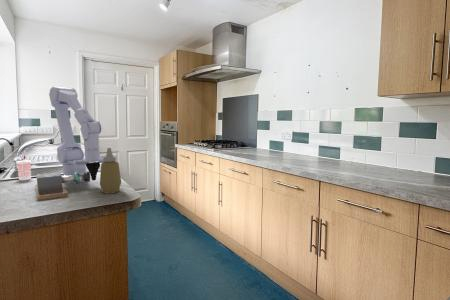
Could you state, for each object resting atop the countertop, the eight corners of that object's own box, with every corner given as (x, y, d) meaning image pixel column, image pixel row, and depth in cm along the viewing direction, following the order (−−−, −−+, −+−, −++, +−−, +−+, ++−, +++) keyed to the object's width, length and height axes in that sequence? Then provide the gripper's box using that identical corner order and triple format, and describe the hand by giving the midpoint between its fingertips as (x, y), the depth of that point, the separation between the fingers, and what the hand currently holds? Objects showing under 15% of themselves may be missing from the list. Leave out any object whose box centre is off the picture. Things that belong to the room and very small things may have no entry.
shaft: (88, 181, 120) (87, 170, 119) (90, 183, 116) (90, 172, 115) (48, 186, 111) (47, 174, 110) (49, 188, 107) (48, 176, 106)
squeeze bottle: (100, 195, 105) (98, 149, 103) (99, 190, 112) (97, 147, 110) (122, 193, 108) (121, 148, 106) (120, 188, 115) (118, 146, 113)
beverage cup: (34, 177, 137) (32, 150, 136) (30, 179, 131) (28, 151, 130) (19, 178, 135) (17, 150, 134) (15, 180, 129) (12, 151, 128)
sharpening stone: (61, 185, 121) (60, 169, 120) (68, 196, 104) (66, 178, 103) (35, 188, 115) (34, 172, 115) (37, 200, 98) (36, 181, 97)
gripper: (74, 151, 110) (76, 184, 111) (112, 149, 118) (113, 179, 120) (71, 149, 115) (73, 180, 117) (107, 147, 124) (109, 176, 125)
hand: (93, 179), depth 119 cm, fingers closed
